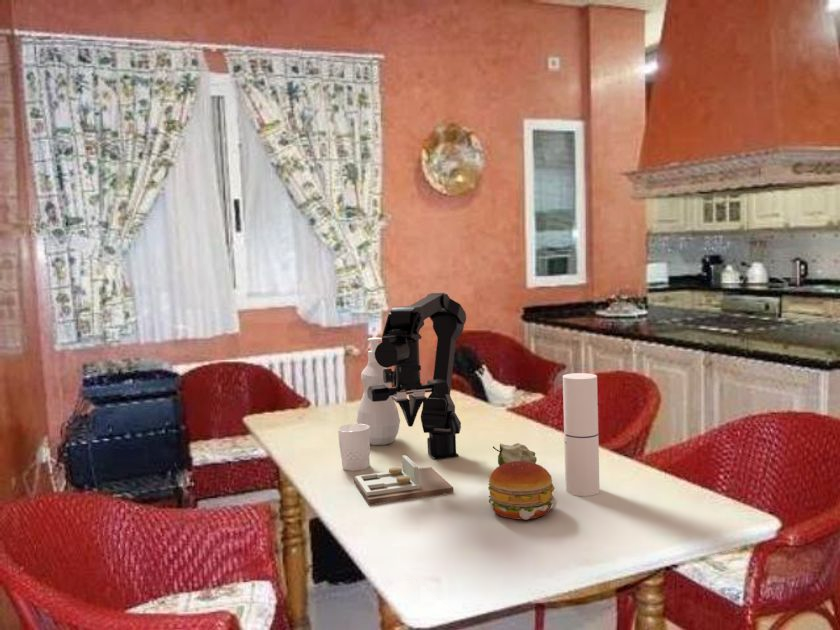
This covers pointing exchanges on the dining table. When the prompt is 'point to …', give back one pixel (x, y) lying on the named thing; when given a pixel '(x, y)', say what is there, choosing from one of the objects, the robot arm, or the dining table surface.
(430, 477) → the board
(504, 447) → the fruit
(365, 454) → the white cup
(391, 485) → the panel
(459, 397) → the dining table surface
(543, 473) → the burger
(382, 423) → the soap bottle
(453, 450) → the robot arm
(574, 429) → the cylindrical container
